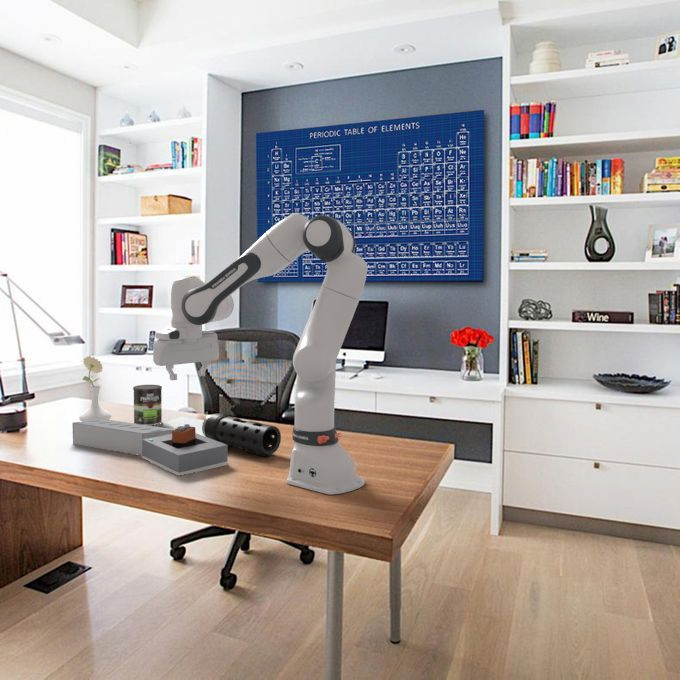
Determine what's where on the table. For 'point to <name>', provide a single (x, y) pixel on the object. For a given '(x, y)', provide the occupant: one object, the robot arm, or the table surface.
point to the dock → (185, 454)
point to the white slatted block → (115, 435)
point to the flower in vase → (94, 393)
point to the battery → (183, 436)
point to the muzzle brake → (242, 434)
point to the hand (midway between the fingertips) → (187, 378)
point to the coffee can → (147, 404)
